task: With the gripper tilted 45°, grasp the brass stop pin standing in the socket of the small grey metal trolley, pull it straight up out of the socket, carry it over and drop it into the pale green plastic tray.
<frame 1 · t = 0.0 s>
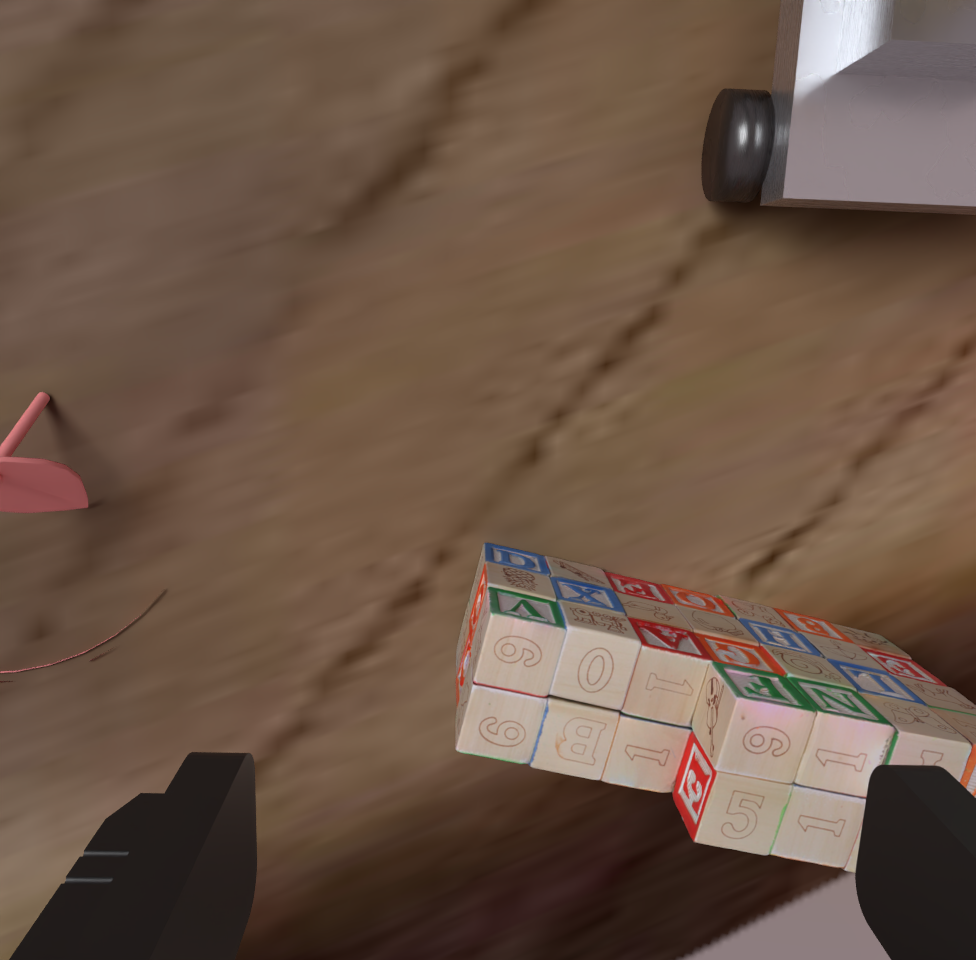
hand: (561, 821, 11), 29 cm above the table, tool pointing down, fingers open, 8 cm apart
trolley: (861, 29, 36), on the table
stack of blocks: (669, 641, 42), on the table
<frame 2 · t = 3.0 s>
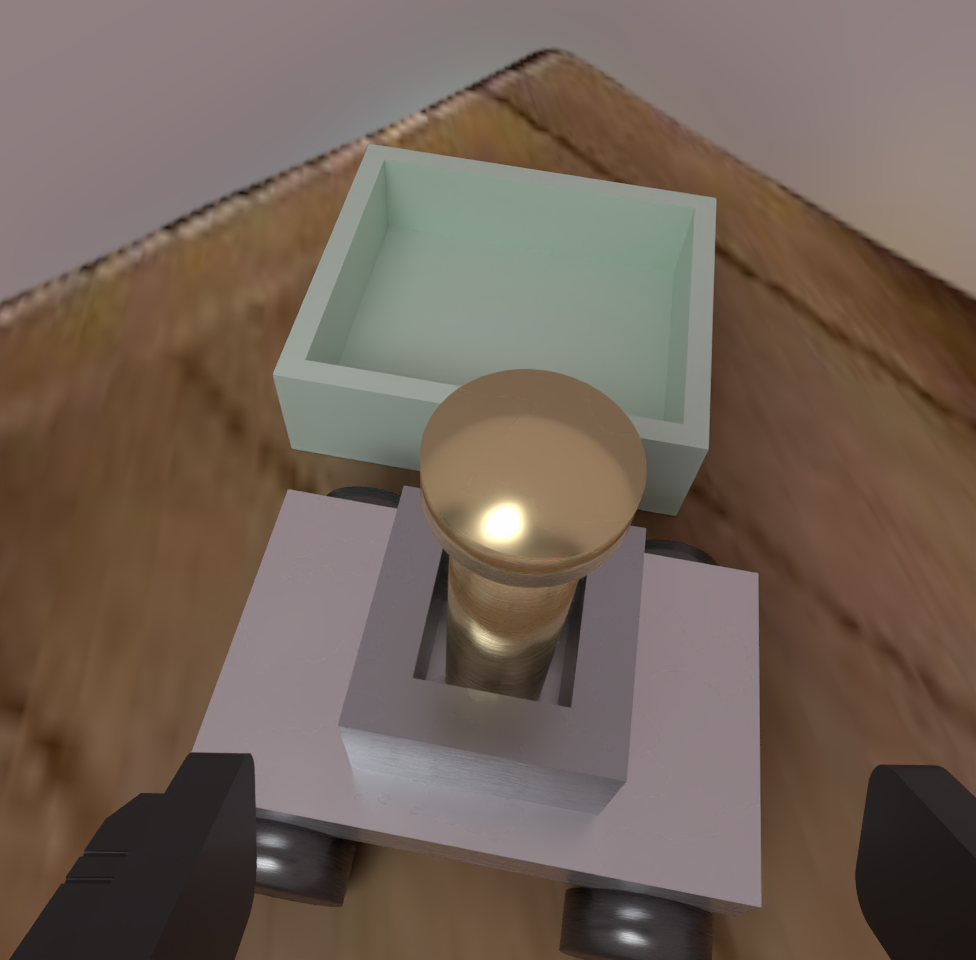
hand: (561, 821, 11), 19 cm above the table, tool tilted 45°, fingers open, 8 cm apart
trolley: (484, 729, 30), on the table
stop pin: (495, 672, 25), point 6 cm above the table, touching trolley
tray: (508, 354, 40), on the table
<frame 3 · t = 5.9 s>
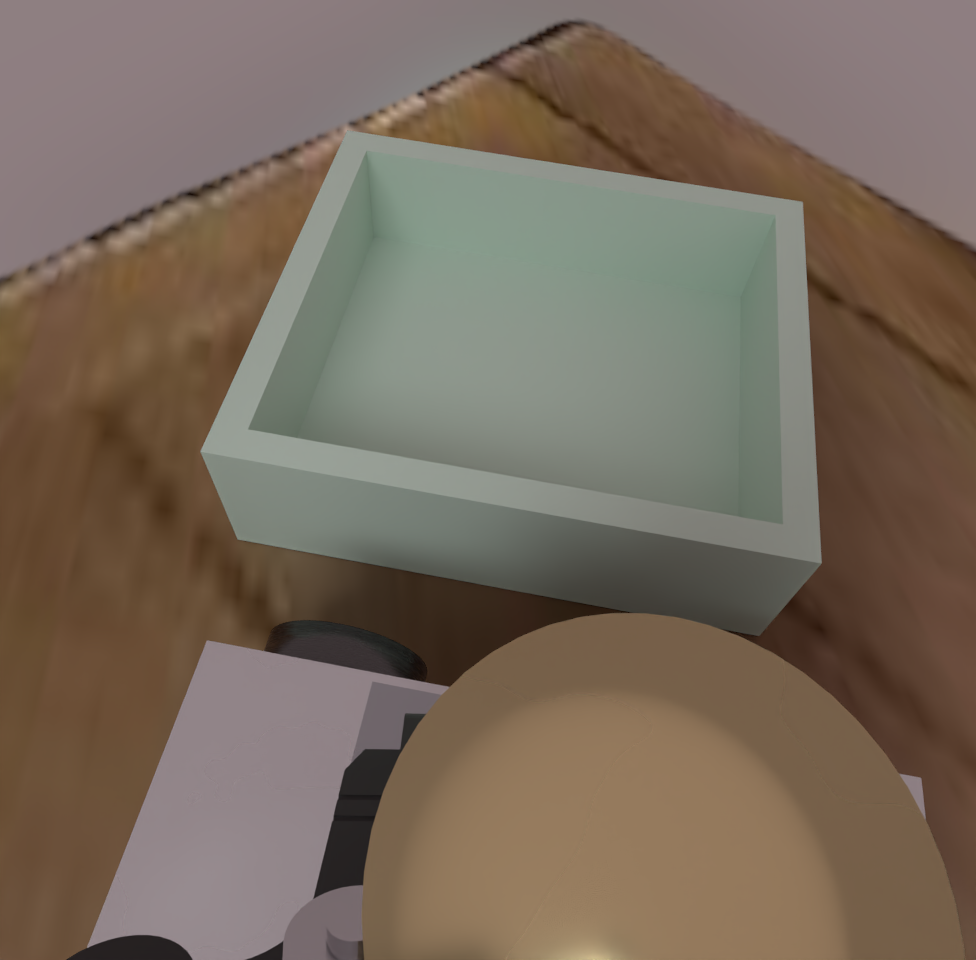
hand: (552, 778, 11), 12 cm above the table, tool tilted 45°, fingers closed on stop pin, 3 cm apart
tray: (528, 406, 30), on the table
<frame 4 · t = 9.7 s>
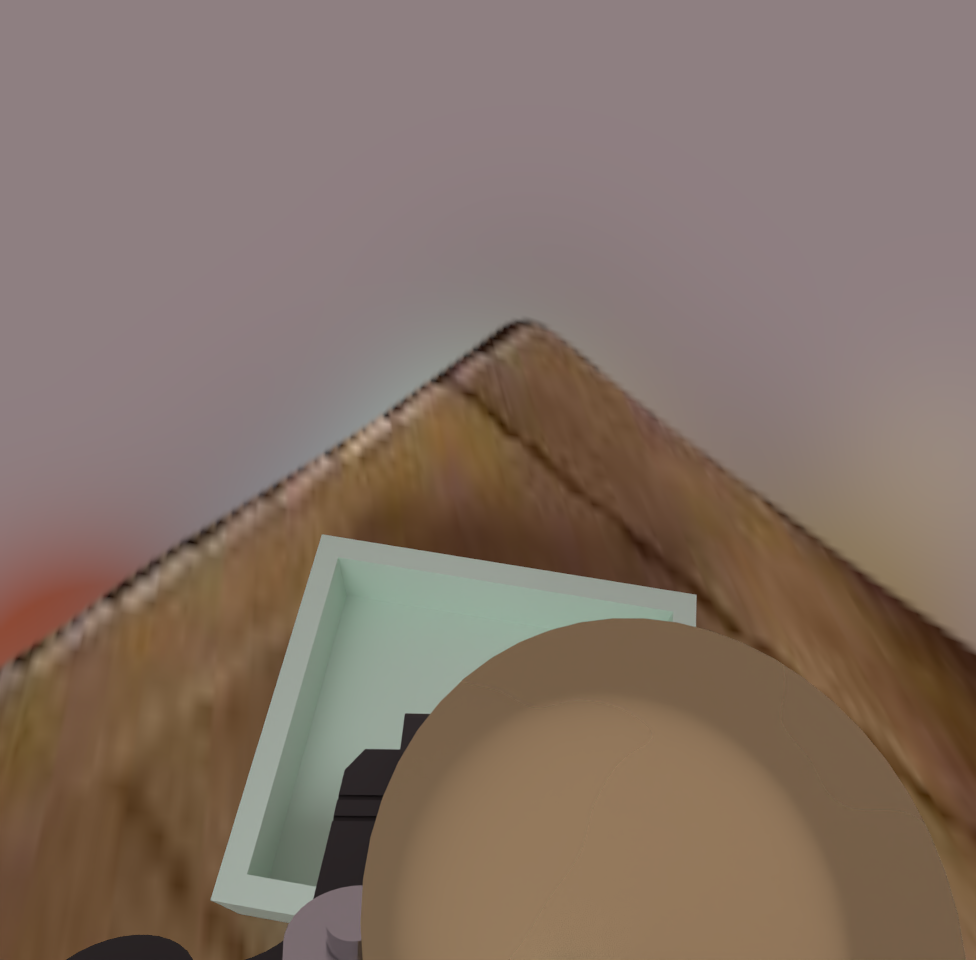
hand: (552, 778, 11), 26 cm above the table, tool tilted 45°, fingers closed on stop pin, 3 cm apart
tray: (476, 761, 37), on the table
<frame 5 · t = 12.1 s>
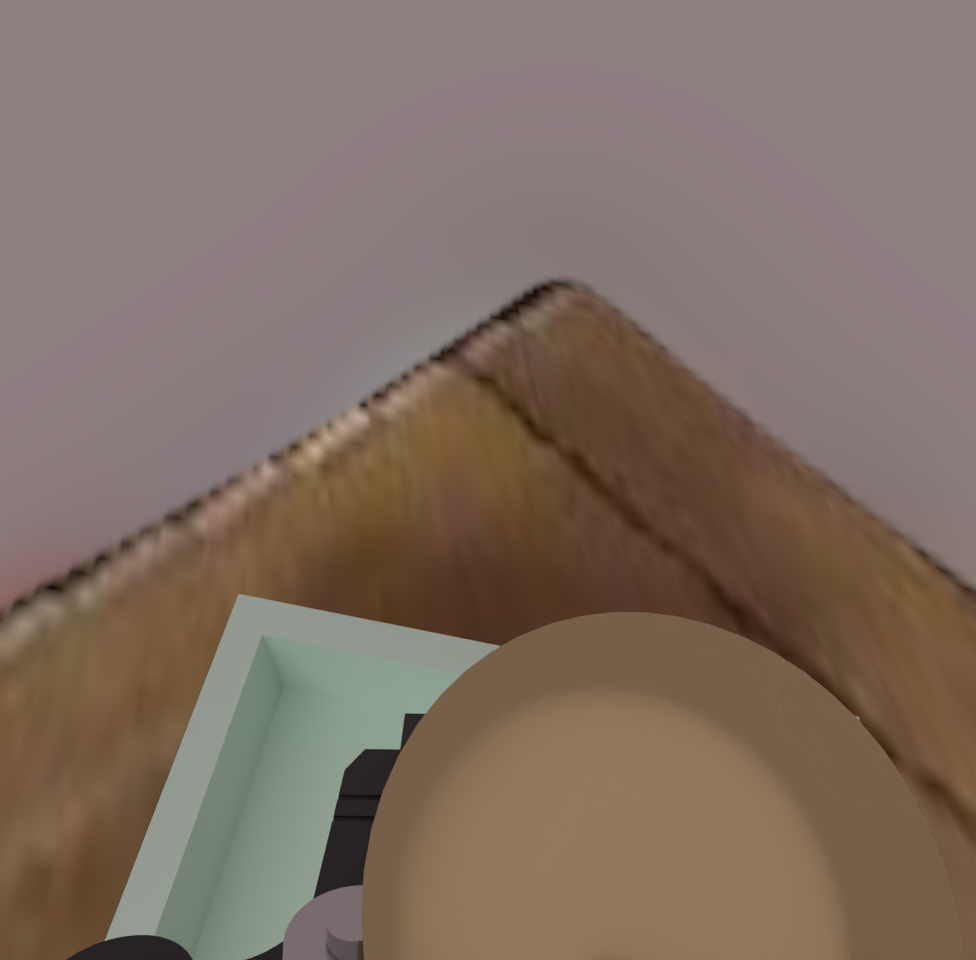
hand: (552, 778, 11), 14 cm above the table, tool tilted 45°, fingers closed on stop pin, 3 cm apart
when the fingers open (9 cm above the table, at t = 13.6 s): stop pin drops 1 cm and tips over, resting on tray.
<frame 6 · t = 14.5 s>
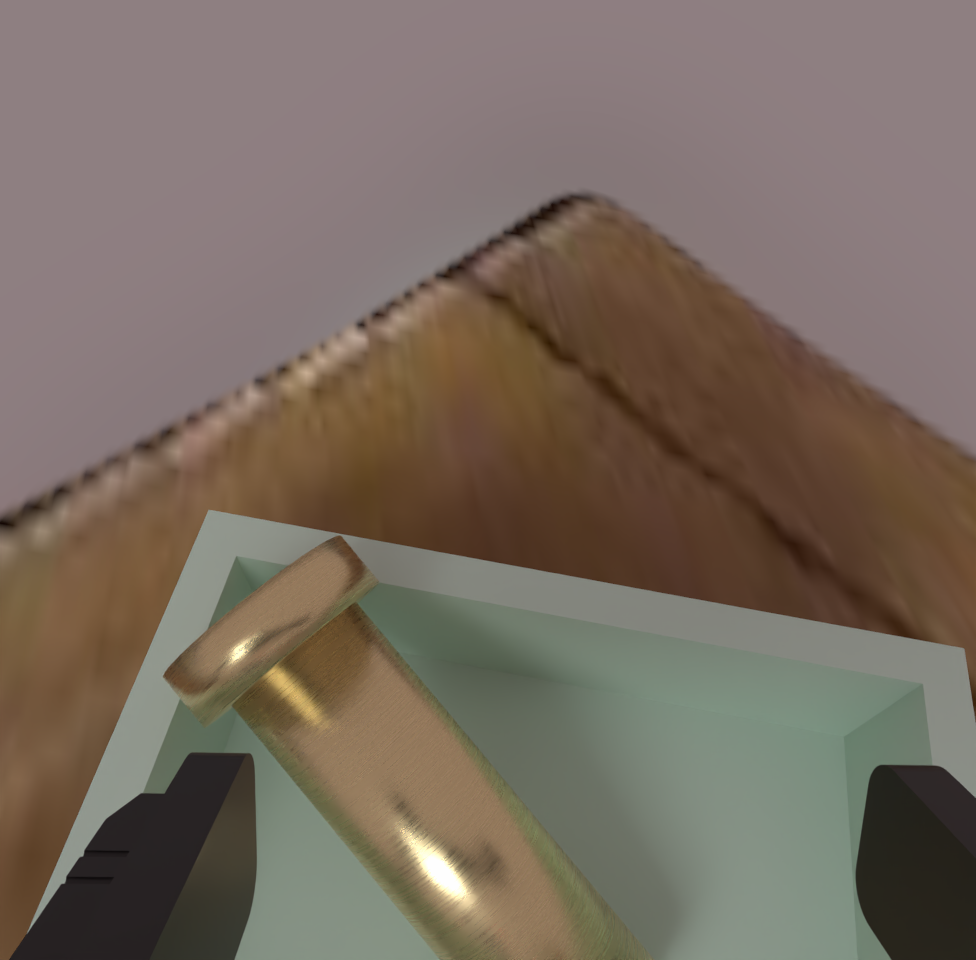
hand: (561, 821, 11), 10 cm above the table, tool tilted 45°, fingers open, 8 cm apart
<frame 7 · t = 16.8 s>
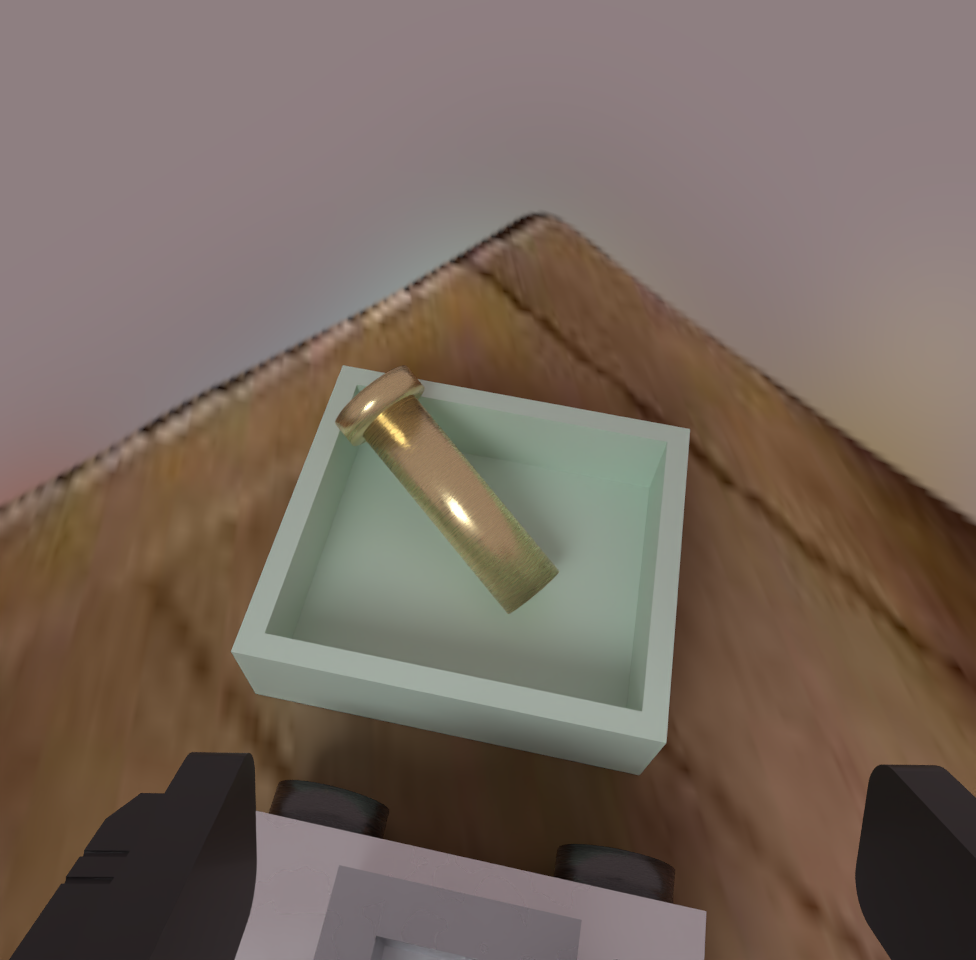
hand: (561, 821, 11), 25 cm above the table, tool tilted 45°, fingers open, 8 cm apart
stop pin: (533, 592, 37), point 2 cm above the table, tilted 70°, touching tray
tray: (478, 580, 39), on the table
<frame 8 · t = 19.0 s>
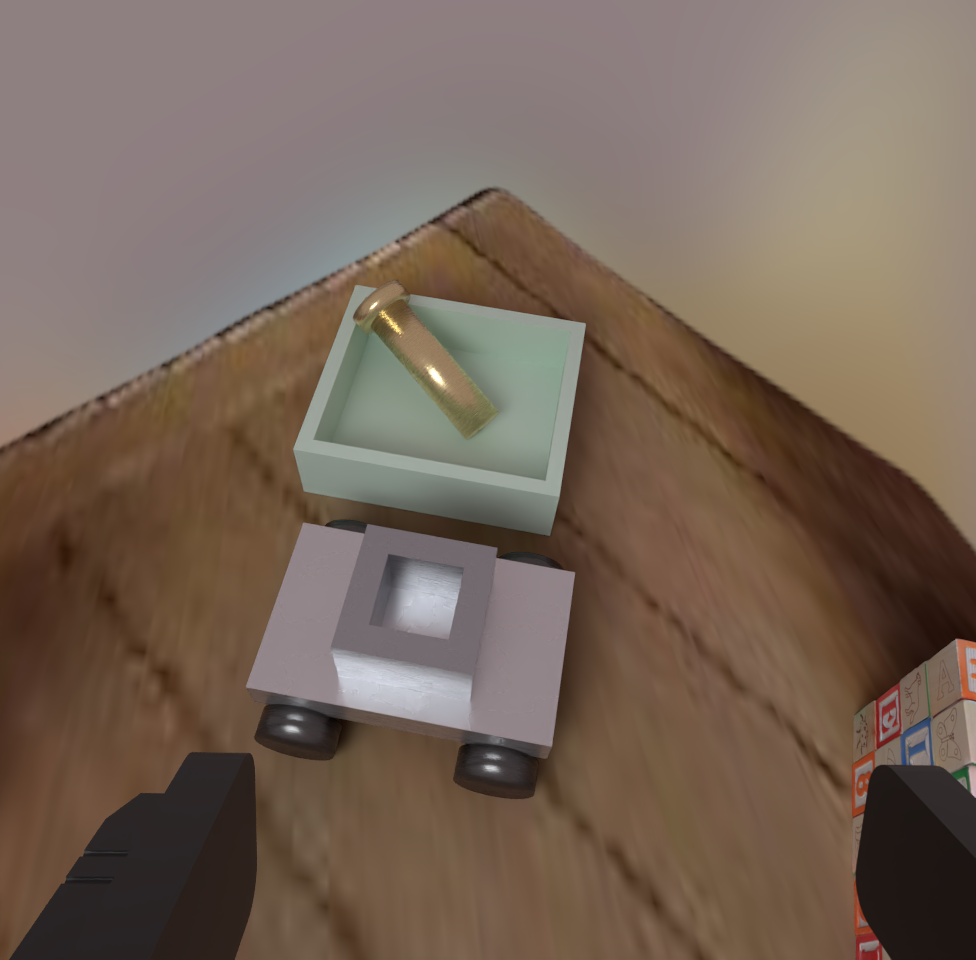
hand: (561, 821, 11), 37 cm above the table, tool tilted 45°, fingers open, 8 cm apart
trolley: (420, 665, 50), on the table
stack of blocks: (908, 920, 44), on the table
stop pin: (482, 426, 57), point 2 cm above the table, tilted 70°, touching tray
tray: (448, 426, 59), on the table
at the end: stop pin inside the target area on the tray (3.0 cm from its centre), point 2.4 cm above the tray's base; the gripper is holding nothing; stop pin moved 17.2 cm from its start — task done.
